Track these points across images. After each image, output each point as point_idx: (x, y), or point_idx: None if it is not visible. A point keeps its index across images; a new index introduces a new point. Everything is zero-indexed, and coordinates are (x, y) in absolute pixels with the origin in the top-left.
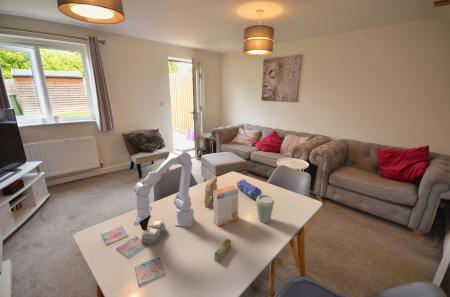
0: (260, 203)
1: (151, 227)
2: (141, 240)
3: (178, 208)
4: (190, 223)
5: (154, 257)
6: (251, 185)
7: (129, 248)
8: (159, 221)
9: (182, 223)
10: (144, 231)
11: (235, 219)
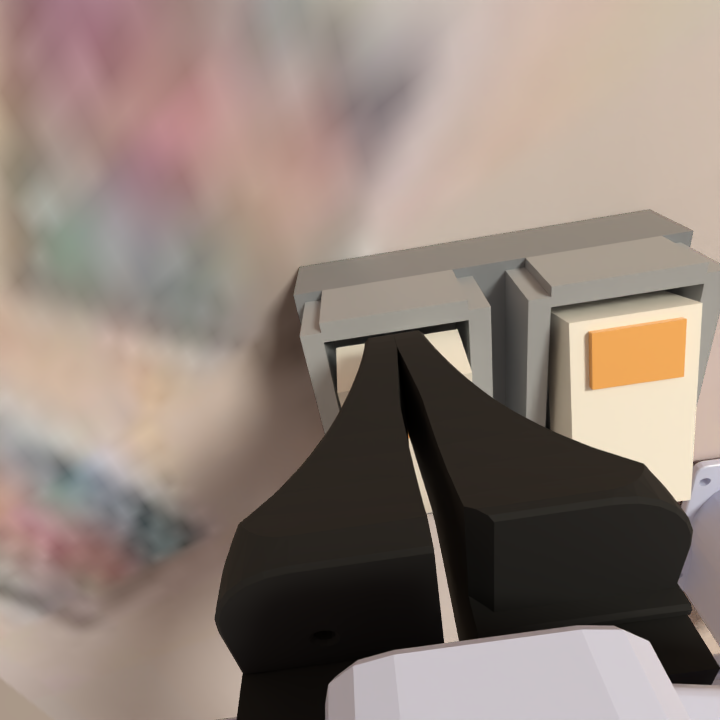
0: None
1: (536, 368)
2: (295, 291)
3: None
4: (695, 604)
5: (178, 504)
6: None
7: (145, 161)
8: (667, 472)
9: (702, 552)
10: (342, 401)
11: None
